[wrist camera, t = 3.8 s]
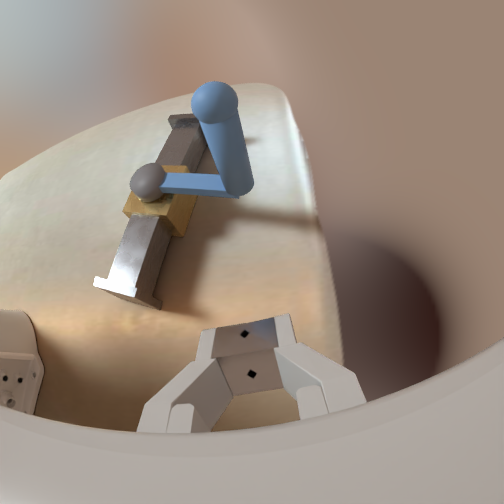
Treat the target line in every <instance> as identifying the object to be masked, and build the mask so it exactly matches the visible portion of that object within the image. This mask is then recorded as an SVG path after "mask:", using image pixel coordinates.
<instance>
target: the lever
mask: <svg viewBox="0 0 504 504" xmlns="http://www.w3.org/2000/svg"><path fill="white" fill-rule="evenodd" d="M191 108H192V111H193V114H194V115H195V117H196V118H197V119H198V120H199V122H200V125H201V127H202V130H203V133H204V135H205V138H206V141H207V143H208V146H209V149H210V151H211V154H212V157H213V159H214V162H215V164H216V167H217V170H218V172H219V175H217V174H196V173H166V172H165V170H164V169H163V167H162V166H161V165H160V164H158V163H149V164H146V165H144V166H142V167H141V168H139V169H138V170H137V171H136V172H135V173H134V175H133V176H132V178H131V181H130V188H131V190H132V191H133V192H134V194H135V195H136V196H137V197H138V199H139V200H141V201H143V202H152V201H155V200H157V199H158V198H160V197H161V196H162V195H163V194H164V193H173V194H188V195H202V196H214V197H226V198H237V199H239V196H242V195H245V194H247V193H248V192H250V191H251V189H252V188H253V186H254V179H253V175H252V170H251V166H250V161H249V157H248V153H247V148H246V144H245V140H244V135H243V131H242V127H241V122H240V118H239V114H238V109H237V108H238V98H237V95H236V93H235V91H234V90H233V89H232V88H231V87H230V86H229V85H227V84H225V83H223V82H215V81H214V82H208V83H205V84H203V85H202V86H200V87H199V88H198V89H197V90H196V91H195V93H194V95H193V97H192V100H191Z"/></svg>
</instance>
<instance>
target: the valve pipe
mask: <svg viewBox="0 0 504 504" xmlns="http://www.w3.org/2000/svg"><path fill="white" fill-rule="evenodd" d="M168 121H169V123H170V125H171V127H172V129H173V130H172V132H171V134H170V135H169V137H168V139H167V141H166V143H165V145H164V147H163V149H162V150H161V152H160V154H159V156H158V158H157V160H156V162H155V163H158V164H160V165H161V166H162V167H163V169H164V170H165V172H166V173H195V171H196V168H197V166H198V163H199V161H200V159H201V156H202V154H203V151H204V149H205V147H206V146H208V143H207V141H206V138H205V135H204V133H203V130H202V127H201V125H200V122H199V120H198V119H197V118H196V117H195V115H194V114H179V115H170V117H169V118H168ZM197 197H198V195H188V194H173V193H164V194H163V195H162V196H161V197H160V198H158V199H157V200H155V201H152V202H143V201H141V200H139V199H138V197H137V196H136V195H135V194H134V192H133V191H131V193H130V195H129V198H128V200H127V202H126V204H125V207H124V209H123V212H124V214H125V215H126V216H127V217H128V218H129V219H130V220H129V222H128V225H127V227H126V230H125V232H124V235H123V237H122V240H121V243H120V245H119V248H118V251H117V253H116V256H115V259H114V262H113V265H112V268H111V271H110V274H109V277H108V280H106V279H102V278H99V277H96V278H95V281H94V284H93V285H94V286H96V287H98V288H100V289H102V290H104V291H106V292H108V293H110V294H112V295H114V296H116V297H118V298H120V299H123V300H126V301H130V302H133V303H137V304H140V305H144V306H147V307H151V308H154V309H158V310H160V309H161V305H162V302H161V301H160V300H158V299H156V298H154V297H152V295H153V292H154V288H155V285H156V281H157V278H158V275H159V272H160V268H161V265H162V262H163V259H164V256H165V253H166V250H167V247H168V244H169V241H170V238H171V236H178V237H184V234H185V231H186V228H187V225H188V222H189V219H190V216H191V214H192V211H193V208H194V205H195V202H196V199H197Z"/></svg>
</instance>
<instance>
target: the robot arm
mask: <svg viewBox="0 0 504 504" xmlns="http://www.w3.org/2000/svg"><path fill="white" fill-rule="evenodd" d="M274 318H275V319H274ZM43 375H44V367H43V364H42V361H41V359H40V356H39V354H38V351H37V344H36V338H35V333H34V329H33V326H32V323H31V321H30V319H29V318H28V316H27V315H26V314H25V313H24V312H23V311H21V310H3V309H0V504H504V337H503V338H502V339H500V340H499V341H497V342H496V343H494V344H492V345H491V346H489V347H488V348H486V349H484V350H483V351H481V352H479V353H477V354H476V355H474V356H472V357H470V358H469V359H467V360H465V361H463V362H461V363H460V364H458V365H456V366H454V367H452V368H450V369H448V370H446V371H444V372H442V373H440V374H438V375H436V376H433V377H431V378H429V379H427V380H424V381H422V382H420V383H417V384H415V385H413V386H410V387H408V388H406V389H403V390H400V391H398V392H395V393H393V394H390V395H387V396H384V397H382V398H379V399H376V400H373V401H370V402H366V400H365V397H364V395H363V392H362V390H361V387H360V385H359V382H358V380H357V378H356V375H355V373H353V372H351V371H350V370H348V369H346V368H345V367H343V366H341V365H339V364H337V363H336V362H334V361H332V360H331V359H329V358H327V357H325V356H324V355H322V354H320V353H319V352H317V351H315V350H313V349H312V348H310V347H308V346H307V345H305V344H303V343H302V342H301V343H297V341H296V337H295V333H294V329H293V325H292V321H291V317H290V314H289V313H287V314H284V315H280V316H276V317H273V318H268V319H264V320H259V321H254V322H250V323H243V324H237V325H231V326H224V327H218V328H212V329H206V330H203V331H202V332H201V335H200V340H199V345H198V350H197V354H196V359H195V361H192V362H190V363H189V364H188V365H187V366H186V367H185V368H184V369H183V370H182V371H181V372H179V373H178V374H177V375H176V376H175V377H174V378H173V379H172V380H171V381H170V382H169V383H168V384H166V385H165V386H164V387H163V388H162V389H161V390H160V391H159V392H158V393H157V394H156V395H154V396H153V397H152V398H151V399H150V400H149V401H148V402H147V403H146V404H145V405H144V409H143V412H142V415H141V418H140V421H139V425H138V428H137V431H136V432H130V431H119V430H109V429H101V428H93V427H86V426H80V425H74V424H69V423H64V422H59V421H54V420H50V419H46V418H42V417H38V416H34V415H33V413H34V409H35V405H36V401H37V397H38V393H39V389H40V385H41V382H42V378H43ZM279 388H284V389H285V390H286V391H287V392H288V393H289V394H290V395H291V396H292V397H293V398H294V399H295V400H296V401H297V403H298V409H299V415H300V420H298V421H293V422H287V423H282V424H276V425H270V426H263V427H256V428H248V429H240V430H229V431H217V432H211V429H212V428H213V427H214V425H215V424H216V422H217V421H218V419H219V418H220V416H221V415H222V414H223V412H224V411H225V409H226V408H227V406H228V405H229V403H230V402H231V400H232V399H233V396H236V395H242V394H248V393H254V392H260V391H267V390H273V389H279Z"/></svg>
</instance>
